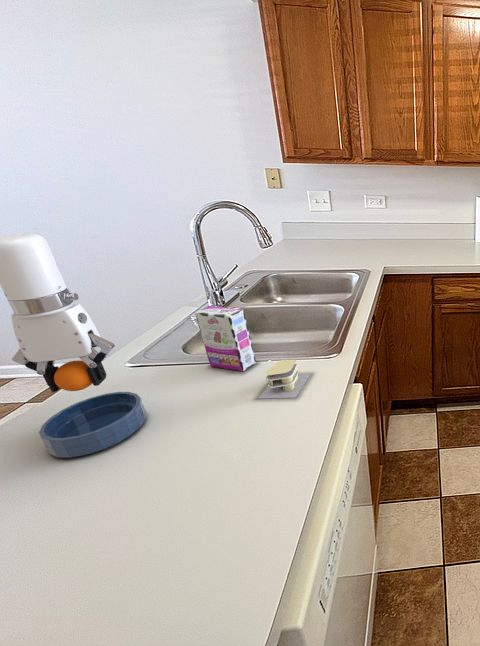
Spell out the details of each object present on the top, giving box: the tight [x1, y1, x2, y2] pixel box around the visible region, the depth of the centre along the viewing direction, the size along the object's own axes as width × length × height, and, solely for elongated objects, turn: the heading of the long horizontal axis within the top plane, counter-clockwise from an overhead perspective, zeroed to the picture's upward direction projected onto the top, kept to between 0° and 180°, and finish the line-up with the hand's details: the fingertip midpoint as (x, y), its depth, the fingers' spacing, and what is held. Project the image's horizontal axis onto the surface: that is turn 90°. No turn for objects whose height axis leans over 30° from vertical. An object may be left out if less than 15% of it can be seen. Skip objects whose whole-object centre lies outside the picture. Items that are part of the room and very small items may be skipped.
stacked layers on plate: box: [258, 359, 311, 399], centre depth 99 cm, size 10×9×6 cm
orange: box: [54, 359, 93, 392], centre depth 79 cm, size 6×6×6 cm
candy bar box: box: [194, 305, 257, 372], centre depth 106 cm, size 11×5×16 cm, turn 76°
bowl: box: [38, 391, 147, 458], centre depth 83 cm, size 15×15×5 cm
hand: (79, 384), depth 79 cm, fingers closed on orange, 6 cm apart
